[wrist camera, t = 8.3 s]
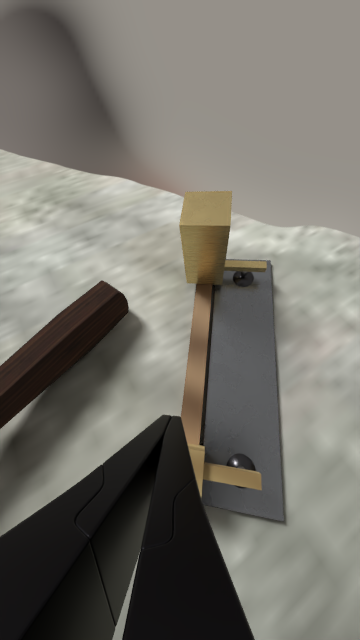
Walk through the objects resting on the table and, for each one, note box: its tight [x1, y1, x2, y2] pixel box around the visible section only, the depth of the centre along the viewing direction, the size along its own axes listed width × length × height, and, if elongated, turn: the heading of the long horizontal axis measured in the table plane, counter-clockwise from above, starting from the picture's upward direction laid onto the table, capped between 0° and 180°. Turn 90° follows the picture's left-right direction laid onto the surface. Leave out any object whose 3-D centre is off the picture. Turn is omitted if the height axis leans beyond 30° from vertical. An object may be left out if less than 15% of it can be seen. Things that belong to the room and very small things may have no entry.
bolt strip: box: [201, 259, 284, 521], centre depth 23 cm, size 27×7×1 cm, turn 173°
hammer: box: [0, 281, 129, 429], centre depth 21 cm, size 5×11×30 cm
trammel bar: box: [181, 284, 262, 496], centre depth 22 cm, size 27×8×4 cm, turn 173°
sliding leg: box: [179, 191, 267, 285], centre depth 23 cm, size 4×9×10 cm, turn 83°
